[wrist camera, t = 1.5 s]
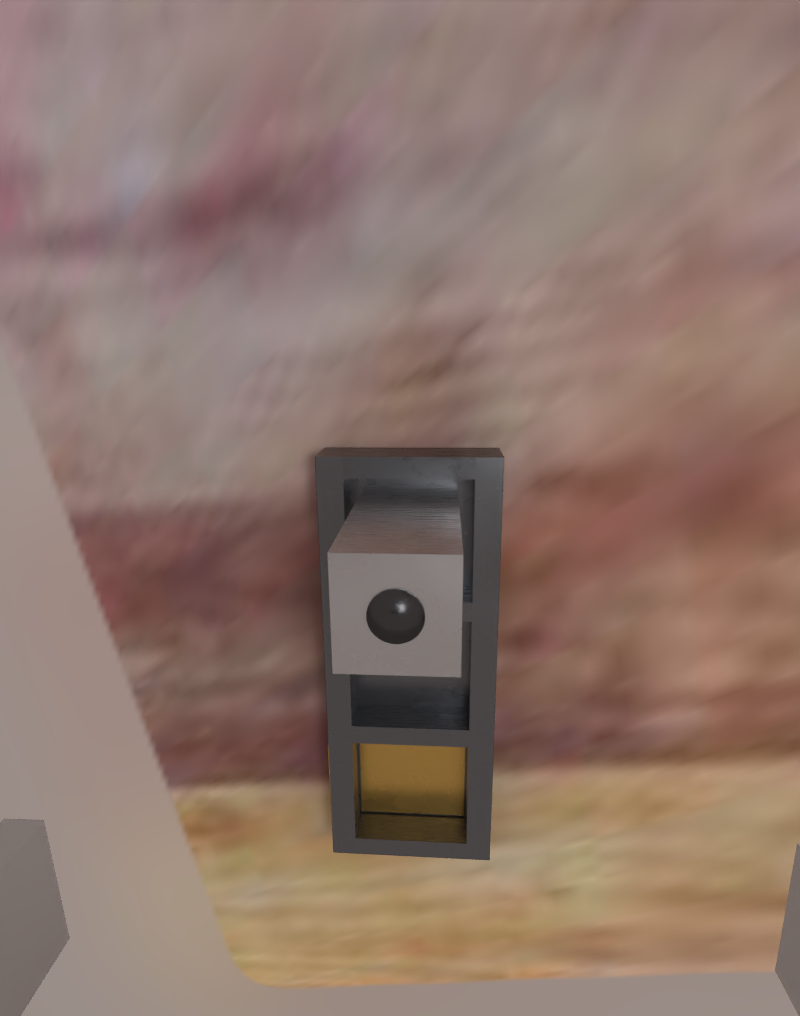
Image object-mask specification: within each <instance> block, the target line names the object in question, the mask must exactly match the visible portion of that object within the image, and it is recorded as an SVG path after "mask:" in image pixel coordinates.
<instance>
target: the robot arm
mask: <svg viewBox="0 0 800 1016" xmlns="http://www.w3.org/2000/svg"><path fill="white" fill-rule="evenodd" d="M68 940H69V933H68V929H67V924H66V920H65V915H64V910H63V906H62V901H61V897H60V893H59V887H58V883H57V878H56V874H55V870H54V865H53V860H52V856H51V851H50V846H49V842H48V837H47V833H46V828H45V823H44V820H26V819H3V820H2V822H1V823H0V1016H21V1014H22V1013H23V1011H24V1010H25V1008H26V1006H27V1005H28V1003H29V1002H30V1000H31V999H32V997H33V995H34V994H35V992H36V991H37V989H38V987H39V986H40V984H41V983H42V981H43V979H44V978H45V976H46V975H47V973H48V972H49V970H50V968H51V967H52V965H53V964H54V962H55V960H56V959H57V957H58V955H59V954H60V952H61V951H62V949H63V948H64V946H65V945H66V943H67V941H68ZM775 971H776V973H777V975H778V977H779V979H780V981H781V982H782V984H783V986H784V988H785V990H786V992H787V994H788V996H789V998H790V1000H791V1002H792V1003H793V1005H794V1007H795V1009H796V1011H797V1013H798V1015H799V1016H800V843H797V847H796V853H795V859H794V865H793V871H792V876H791V882H790V888H789V894H788V899H787V905H786V911H785V917H784V923H783V928H782V934H781V940H780V946H779V952H778V957H777V963H776V969H775Z"/></svg>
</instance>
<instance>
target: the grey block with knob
mask: <svg viewBox="0 0 800 1016" xmlns="http://www.w3.org/2000/svg"><path fill="white" fill-rule="evenodd" d="M327 554H328V577H329V600H330V623H331V647H332V670H333V674H361V675H395V676H429V677H461V654H462V602H463V545H462V533H461V521H460V510H459V498H458V487H457V485H365V486H364V488H363V490H362V492H361V493H360V495H359V497H358V499H357V501H356V502H355V504H354V506H353V508H352V510H351V511H350V513H349V515H348V517H347V519H346V520H345V522H344V524H343V526H342V528H341V529H340V531H339V533H338V535H337V537H336V538H335V540H334V542H333V544H332V546H331V547H330V549H329V551H328V553H327Z"/></svg>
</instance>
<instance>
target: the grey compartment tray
mask: <svg viewBox="0 0 800 1016" xmlns="http://www.w3.org/2000/svg"><path fill="white" fill-rule="evenodd" d="M315 467H316V488H317V510H318V531H319V553H320V574H321V596H322V617H323V639H324V660H325V682H326V703H327V724H328V759H329V781H330V802H331V823H332V832H333V852H337V853H357V854H377V855H397V856H417V857H436V858H456V859H476V860H490V833H491V805H492V778H493V750H494V723H495V695H496V667H497V640H498V612H499V585H500V557H501V530H502V502H503V474H504V456H503V454H502V452H501V451H500V449H499V448H324V449H323V450H322V451H321V452H320V453H319V454H318V455H317V456H315ZM365 485H457V487H458V498H459V510H460V521H461V533H462V545H463V602H462V654H461V677H429V676H395V675H361V674H333V670H332V647H331V623H330V600H329V577H328V554H327V553H328V551H329V549H330V547H331V546H332V544H333V542H334V540H335V538H336V537H337V535H338V533H339V531H340V529H341V528H342V526H343V524H344V522H345V520H346V519H347V517H348V515H349V513H350V511H351V510H352V508H353V506H354V504H355V502H356V501H357V499H358V497H359V495H360V493H361V492H362V490H363V488H364V486H365Z"/></svg>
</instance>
